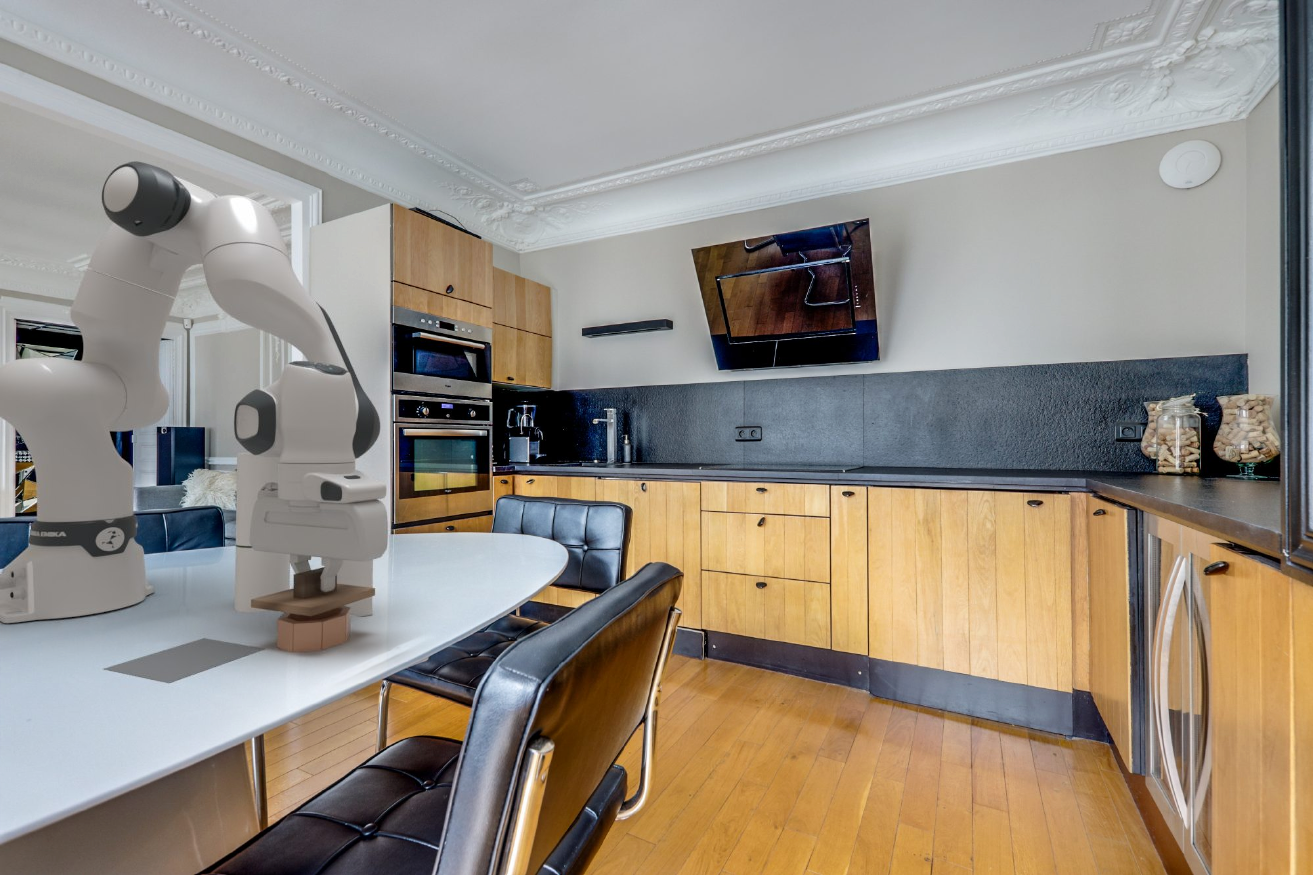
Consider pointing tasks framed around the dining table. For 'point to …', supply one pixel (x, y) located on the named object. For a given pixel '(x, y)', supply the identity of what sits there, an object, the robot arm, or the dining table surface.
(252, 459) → the cylindrical container
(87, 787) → the dining table surface
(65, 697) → the dining table surface
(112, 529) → the robot arm
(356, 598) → the lid
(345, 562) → the milk
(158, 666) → the mat
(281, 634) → the bowl
